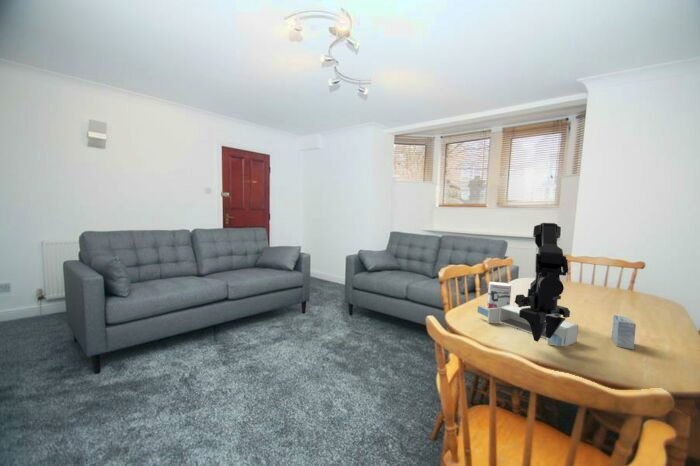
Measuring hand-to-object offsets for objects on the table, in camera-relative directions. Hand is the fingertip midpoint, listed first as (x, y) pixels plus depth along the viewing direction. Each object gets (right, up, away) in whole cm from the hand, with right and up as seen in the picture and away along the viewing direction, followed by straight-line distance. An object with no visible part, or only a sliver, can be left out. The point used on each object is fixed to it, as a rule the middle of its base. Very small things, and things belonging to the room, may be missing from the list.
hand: (542, 339), depth 95 cm
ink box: (+6, -1, +41) cm, 41 cm away
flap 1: (-5, -1, +26) cm, 26 cm away
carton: (+7, -3, +16) cm, 18 cm away
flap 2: (+7, -3, +1) cm, 8 cm away
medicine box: (+32, -4, +7) cm, 33 cm away
